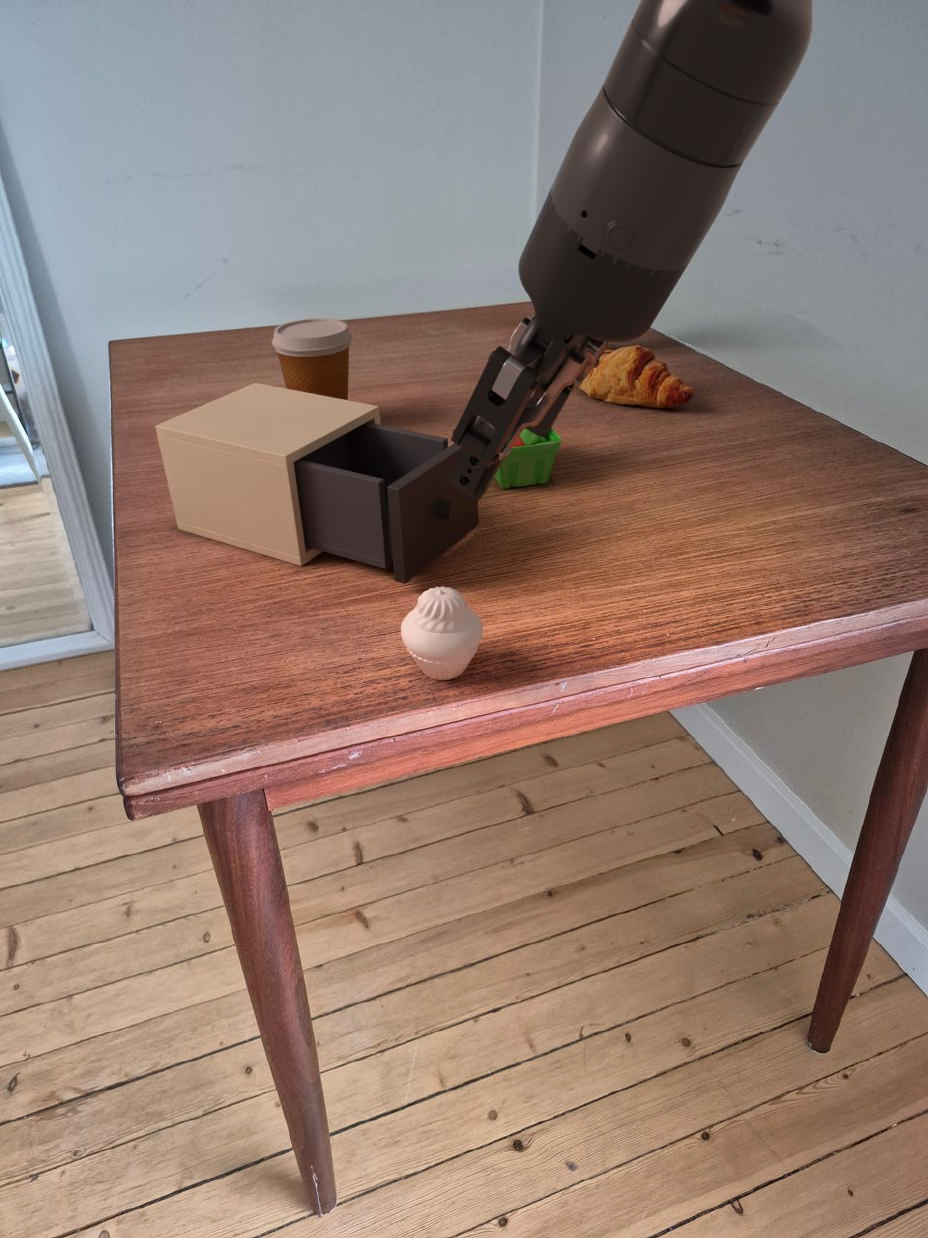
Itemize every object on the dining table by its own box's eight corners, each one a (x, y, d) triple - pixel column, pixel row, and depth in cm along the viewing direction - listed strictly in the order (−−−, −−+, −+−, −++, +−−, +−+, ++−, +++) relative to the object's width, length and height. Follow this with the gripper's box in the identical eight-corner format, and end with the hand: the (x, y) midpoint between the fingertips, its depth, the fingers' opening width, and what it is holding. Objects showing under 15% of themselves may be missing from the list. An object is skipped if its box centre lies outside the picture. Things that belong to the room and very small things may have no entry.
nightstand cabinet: (387, 507, 92) (379, 406, 86) (301, 566, 82) (285, 456, 76) (270, 478, 99) (255, 382, 93) (177, 529, 89) (154, 425, 83)
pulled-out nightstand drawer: (489, 527, 86) (488, 439, 81) (417, 587, 77) (411, 492, 72) (356, 494, 93) (348, 411, 88) (275, 546, 84) (261, 456, 79)
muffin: (495, 654, 70) (495, 576, 66) (465, 700, 65) (463, 619, 61) (423, 638, 72) (419, 562, 68) (389, 682, 67) (382, 602, 63)
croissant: (550, 406, 126) (532, 361, 120) (593, 358, 128) (577, 312, 122) (675, 442, 112) (661, 394, 106) (720, 388, 115) (709, 338, 109)
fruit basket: (466, 455, 103) (464, 357, 97) (539, 446, 105) (542, 349, 99) (493, 496, 94) (492, 390, 88) (573, 485, 95) (578, 381, 89)
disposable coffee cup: (270, 424, 113) (255, 327, 107) (334, 406, 118) (324, 312, 112) (308, 445, 107) (295, 344, 100) (375, 425, 112) (366, 328, 105)
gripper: (618, 140, 48) (504, 377, 60) (490, 210, 38) (385, 475, 50) (735, 218, 47) (595, 442, 59) (635, 309, 37) (493, 554, 50)
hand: (499, 457), depth 55 cm, fingers open, 8 cm apart
